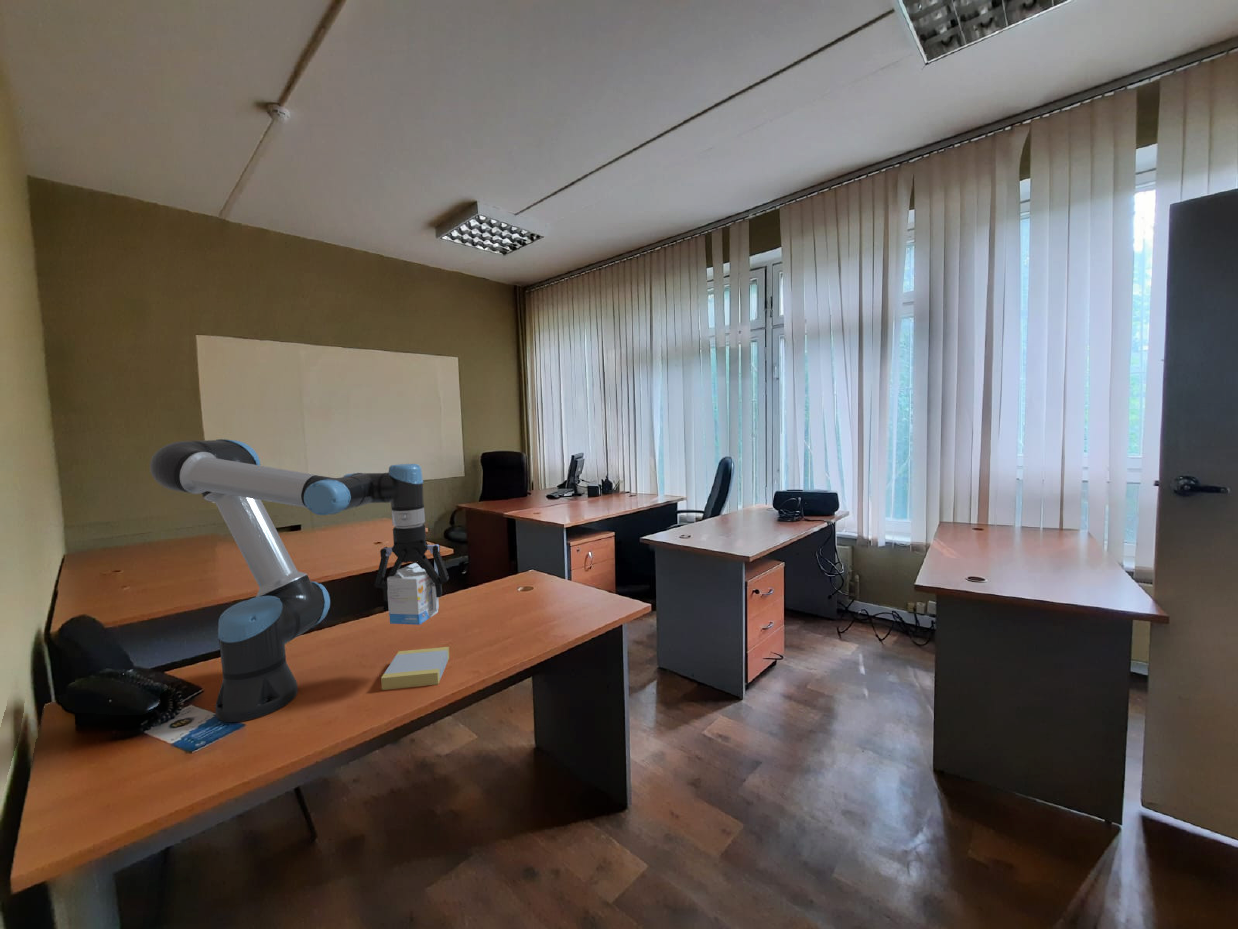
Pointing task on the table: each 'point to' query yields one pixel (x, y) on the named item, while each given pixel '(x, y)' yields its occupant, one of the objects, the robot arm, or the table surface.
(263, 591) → the robot arm
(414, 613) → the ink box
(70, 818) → the table surface
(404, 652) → the dock
